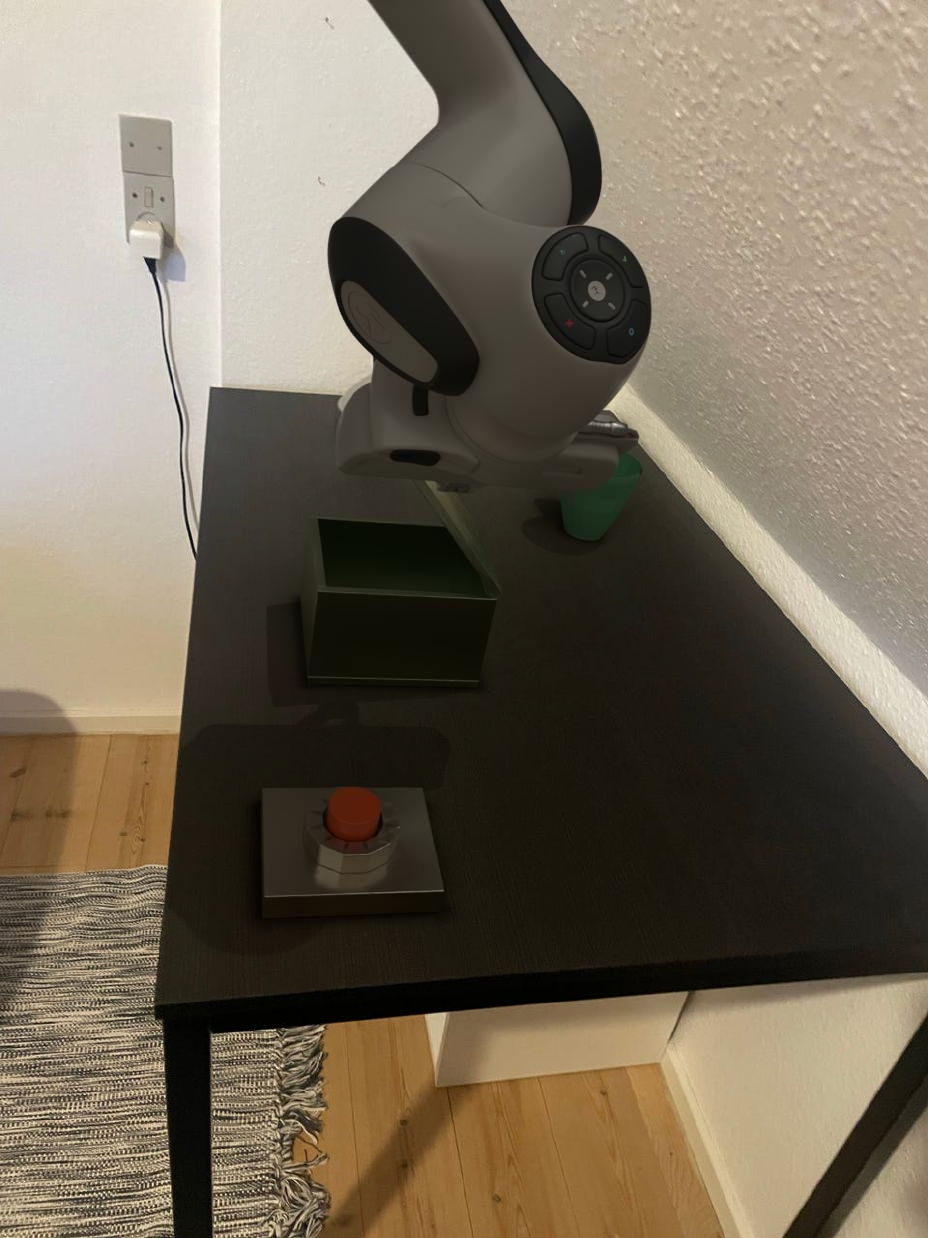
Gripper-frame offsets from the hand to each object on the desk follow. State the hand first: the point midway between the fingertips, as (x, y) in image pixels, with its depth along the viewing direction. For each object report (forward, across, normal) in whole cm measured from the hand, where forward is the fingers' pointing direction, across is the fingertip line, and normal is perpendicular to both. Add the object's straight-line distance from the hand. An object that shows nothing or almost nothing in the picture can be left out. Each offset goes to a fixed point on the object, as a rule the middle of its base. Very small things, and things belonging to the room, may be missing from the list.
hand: (453, 483), depth 75 cm
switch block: (0, +8, +29) cm, 30 cm away
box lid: (+8, 0, -2) cm, 8 cm away
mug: (+39, -26, -10) cm, 48 cm away
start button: (-2, +8, +26) cm, 28 cm away
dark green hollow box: (+19, +2, +10) cm, 22 cm away
